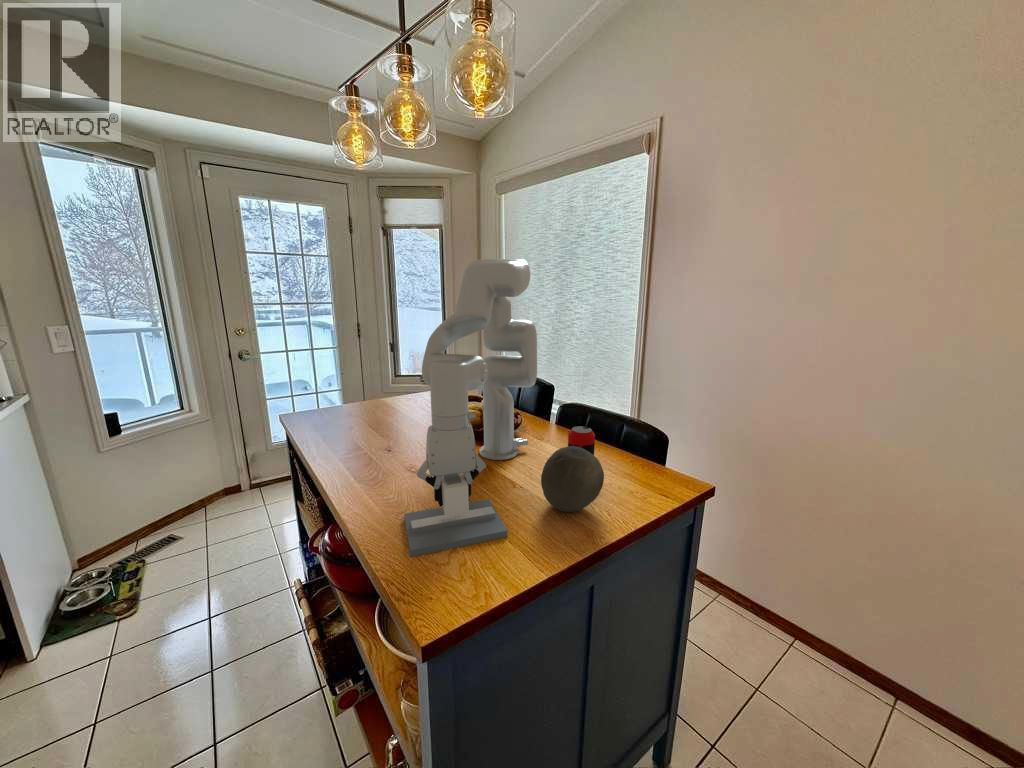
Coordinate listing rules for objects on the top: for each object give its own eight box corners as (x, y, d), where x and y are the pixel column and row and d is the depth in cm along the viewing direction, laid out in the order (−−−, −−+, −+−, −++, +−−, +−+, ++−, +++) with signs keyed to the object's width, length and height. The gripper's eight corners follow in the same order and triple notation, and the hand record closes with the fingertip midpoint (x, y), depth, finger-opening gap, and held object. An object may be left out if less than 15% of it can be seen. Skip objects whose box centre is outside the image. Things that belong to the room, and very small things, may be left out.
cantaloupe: (560, 530, 87) (561, 466, 84) (531, 500, 100) (531, 443, 96) (613, 516, 92) (617, 455, 89) (579, 489, 105) (581, 435, 102)
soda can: (598, 468, 118) (600, 429, 115) (584, 476, 112) (585, 436, 110) (576, 460, 123) (578, 423, 120) (562, 468, 117) (563, 429, 115)
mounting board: (489, 504, 98) (489, 498, 97) (507, 536, 85) (507, 530, 84) (404, 519, 91) (404, 513, 91) (410, 557, 78) (410, 550, 78)
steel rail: (491, 511, 92) (491, 506, 92) (495, 517, 89) (495, 512, 89) (411, 525, 86) (410, 520, 86) (412, 533, 83) (412, 528, 83)
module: (460, 494, 91) (459, 468, 90) (468, 511, 84) (468, 484, 82) (438, 497, 89) (437, 471, 88) (445, 516, 82) (443, 488, 81)
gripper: (485, 411, 89) (486, 487, 93) (406, 419, 83) (410, 499, 87) (495, 421, 82) (496, 502, 86) (409, 430, 76) (414, 517, 80)
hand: (453, 500), depth 86 cm, fingers closed on module, 5 cm apart
